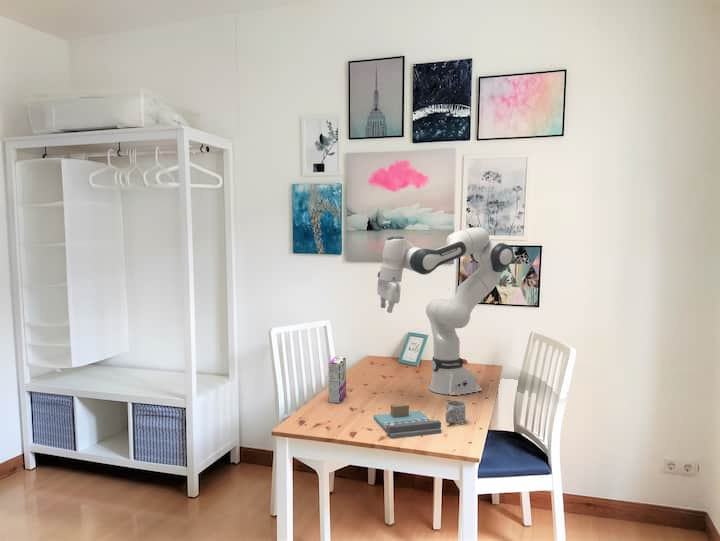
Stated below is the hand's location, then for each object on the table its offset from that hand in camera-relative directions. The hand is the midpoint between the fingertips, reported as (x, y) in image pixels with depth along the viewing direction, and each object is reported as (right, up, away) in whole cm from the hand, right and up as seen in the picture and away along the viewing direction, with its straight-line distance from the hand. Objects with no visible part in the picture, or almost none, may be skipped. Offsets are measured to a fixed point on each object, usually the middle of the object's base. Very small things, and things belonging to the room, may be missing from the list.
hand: (385, 310), depth 216 cm
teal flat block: (+4, -38, -22) cm, 44 cm away
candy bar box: (-20, -37, +3) cm, 42 cm away
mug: (+23, -39, -23) cm, 51 cm away
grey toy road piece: (+7, -39, -31) cm, 50 cm away
